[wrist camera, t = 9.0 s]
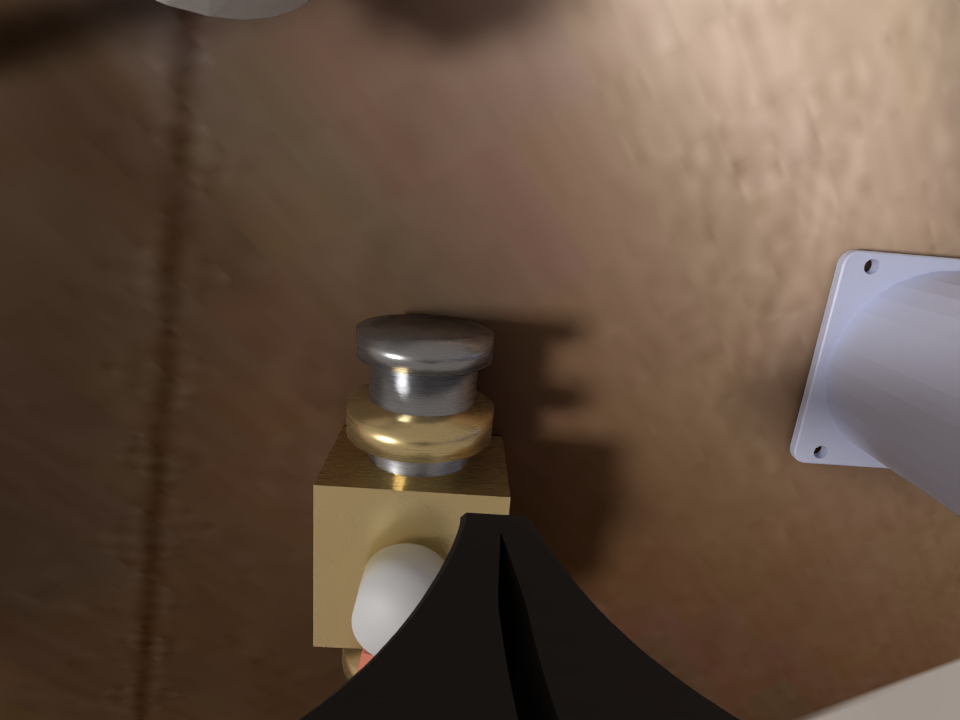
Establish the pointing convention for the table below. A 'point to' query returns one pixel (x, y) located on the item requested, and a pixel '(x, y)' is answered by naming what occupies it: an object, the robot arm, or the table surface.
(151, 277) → the table surface
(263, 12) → the mechanical valve
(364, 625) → the lever
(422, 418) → the valve pipe
